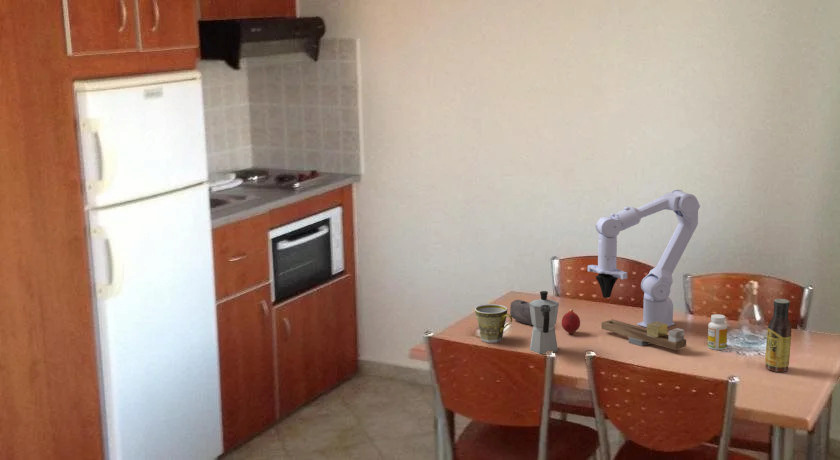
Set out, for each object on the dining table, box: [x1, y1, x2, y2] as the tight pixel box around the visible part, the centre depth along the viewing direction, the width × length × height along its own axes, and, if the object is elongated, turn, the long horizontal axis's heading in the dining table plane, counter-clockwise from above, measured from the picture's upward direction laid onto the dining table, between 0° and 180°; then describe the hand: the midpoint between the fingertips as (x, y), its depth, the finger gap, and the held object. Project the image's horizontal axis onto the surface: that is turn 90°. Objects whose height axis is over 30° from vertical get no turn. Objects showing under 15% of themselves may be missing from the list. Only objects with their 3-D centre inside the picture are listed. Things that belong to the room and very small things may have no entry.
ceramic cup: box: [474, 303, 513, 344], centre depth 292 cm, size 13×10×10 cm
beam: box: [601, 318, 687, 351], centre depth 288 cm, size 7×28×6 cm, turn 38°
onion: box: [561, 308, 581, 335], centre depth 297 cm, size 6×6×8 cm
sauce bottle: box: [764, 298, 793, 373], centre depth 260 cm, size 6×6×20 cm
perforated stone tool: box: [509, 299, 533, 327], centre depth 308 cm, size 15×5×7 cm, turn 37°
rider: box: [646, 321, 668, 338], centre depth 283 cm, size 4×4×5 cm
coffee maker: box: [529, 290, 560, 355], centre depth 280 cm, size 15×9×18 cm, turn 178°
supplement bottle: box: [707, 313, 728, 351], centre depth 281 cm, size 5×5×10 cm
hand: (606, 297), depth 300 cm, fingers closed
